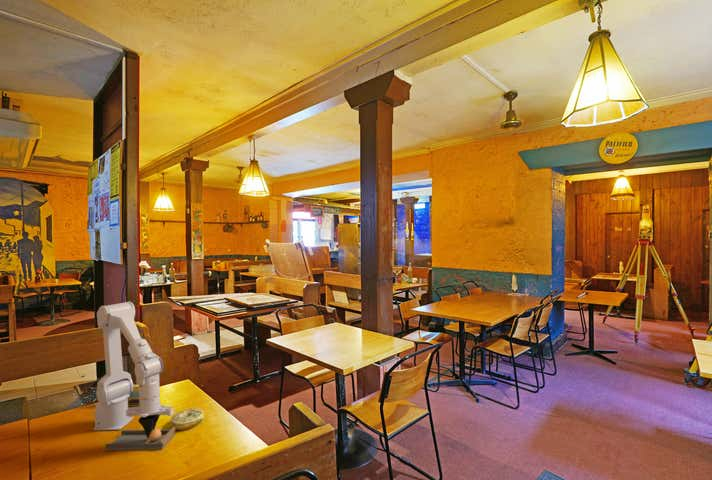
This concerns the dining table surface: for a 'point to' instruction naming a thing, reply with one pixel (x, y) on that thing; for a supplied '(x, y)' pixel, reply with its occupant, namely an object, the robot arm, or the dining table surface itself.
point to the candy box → (134, 397)
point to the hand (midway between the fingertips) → (150, 436)
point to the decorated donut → (187, 419)
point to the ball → (155, 435)
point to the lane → (140, 440)
